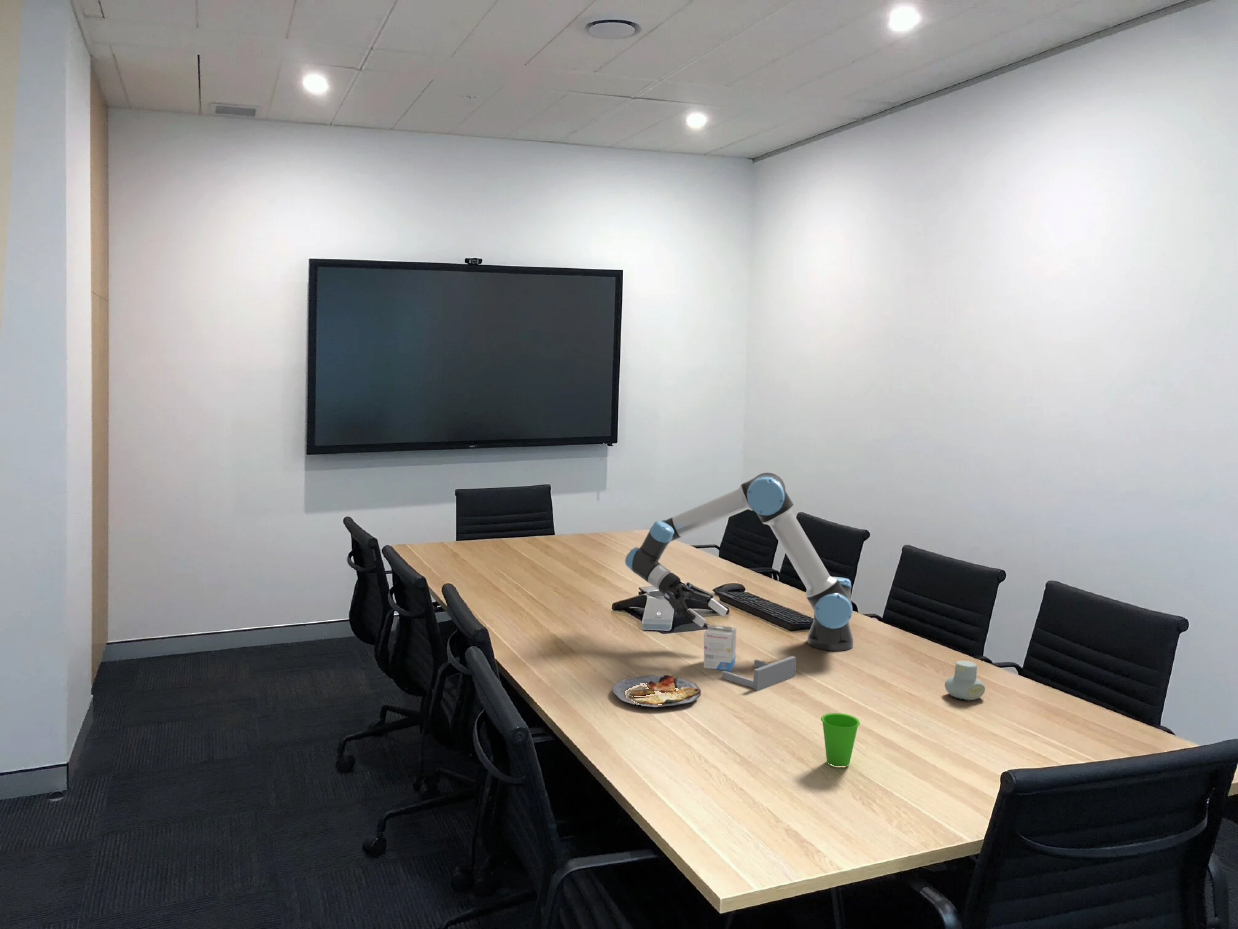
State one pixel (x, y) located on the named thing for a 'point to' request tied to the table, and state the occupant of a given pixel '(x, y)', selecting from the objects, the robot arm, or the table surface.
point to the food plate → (658, 683)
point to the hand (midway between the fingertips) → (714, 618)
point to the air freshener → (965, 682)
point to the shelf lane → (766, 673)
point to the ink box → (719, 647)
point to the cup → (839, 737)
